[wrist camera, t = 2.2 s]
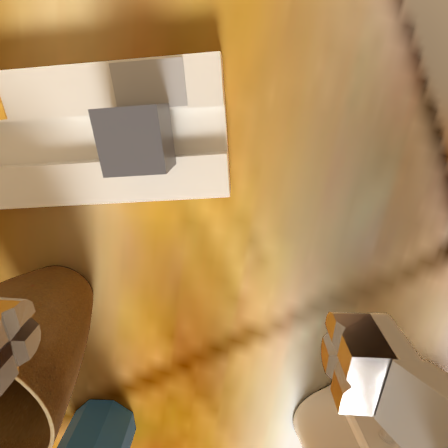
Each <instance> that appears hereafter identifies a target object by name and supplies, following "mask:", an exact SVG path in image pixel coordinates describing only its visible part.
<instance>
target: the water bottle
mask: <svg viewBox="0 0 448 448" xmlns="http://www.w3.org/2000/svg"><path fill="white" fill-rule="evenodd" d="M135 430H136V426H135V421H134V415H133V412H131V411H130V410H128V409H127V408H125V407H123V406H122V405H120V404H119V403H117V402H116V401H114V400H93V399H89V400H88V401H87V402H86V403H85V404H84V405H82V406H81V407H80V408H79V409H78V410H76V412H75V414H74V416H73V418H72V420H71V422H70V424H69V426H68V427H67V429H66V431H65V433H64V435H63V437H62V439H61V441H60V443H59V445H58V447H57V448H130V446H131V443H132V440H133V437H134V434H135Z"/></svg>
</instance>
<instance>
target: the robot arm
mask: <svg viewBox="0 0 448 448" xmlns="http://www.w3.org/2000/svg"><path fill="white" fill-rule="evenodd" d="M35 312H36V311H35V308H34V305H33V302H32V301H30V300H28V299H18V298H3V297H0V396H1V395H2V394H3V393H4V392H5V390H6V389H7V388H8V387H9V385H10V384H11V383H12V382H13V380H14V379H15V378H16V377H17V375H18V374H19V366H20V365H22V364H24V363H25V362H27V361H29V360H30V359H31V358H32V356H33V355H34V354H35V352H36V351H37V349H38V346H39V343H40V341H41V330H40V326H39V324H38V323H37V322H36V321H35V320H34V319H33V318H32V317H33V315H34V313H35ZM325 325H326V328H327V330H328V333H327V334H325V335H324V336H323V338H322V345H321V358H322V363H323V367H324V371H325V374H326V375H327V376H328V377H329V378H330V379H332V383H331V385H329V386H328V387H326V388H324V389H322V390H319V391H317V392H315V393H314V394H312V395H310V396H309V397H308V398H306V399H305V400H304V401H303V402H302V403H301V404H300V405H299V407H298V408H297V410H296V412H295V414H294V418H293V426H294V430H295V432H296V434H297V436H298V438H299V440H300V443H301V445H302V447H303V448H448V373H447V372H445V371H444V370H442V369H440V368H439V367H437V366H436V365H434V364H433V363H431V362H430V361H422V359H421V358H420V356H419V355H418V354H417V352H416V351H415V349H414V348H413V347H412V345H411V344H410V342H409V341H408V340H407V338H406V337H405V335H404V334H403V332H402V331H401V330H400V328H399V327H398V325H397V324H396V323H395V321H394V320H393V318H392V317H391V316H390V315H389V314H387V313H345V312H329V313H328V315H327V317H326V322H325Z"/></svg>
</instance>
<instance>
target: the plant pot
mask: <svg viewBox="0 0 448 448" xmlns="http://www.w3.org/2000/svg"><path fill="white" fill-rule="evenodd" d="M0 297H3V298H18V299H28V300H30V301H32V302H33V305H34V308H35V311H36V312H35V313H34V315H33V317H32V318H33V319H34V320H35V321H36V322H37V323H38V324H39V326H40V330H41V341H40V343H39V346H38V349H37V351H36V352H35V354H34V355H33V356H32V358H31V359H30V360H29V361H27V362H25V363H24V364H22V365H20V366H19V374H18V375H17V377H16V378H15V379H14V380H13V382H12V383H11V384H10V385H9V387H8V388H7V389H6V390H5V392H4V393H3V394H2V395H1V396H0V448H52V447H53V444H54V441H55V439H56V436H57V434H58V431H59V429H60V426H61V423H62V420H63V418H64V415H65V412H66V409H67V407H68V404H69V401H70V398H71V395H72V392H73V389H74V386H75V383H76V380H77V377H78V374H79V370H80V367H81V363H82V360H83V356H84V352H85V347H86V343H87V338H88V333H89V328H90V321H91V314H92V305H93V292H92V289H91V287H90V285H89V283H88V282H87V280H86V279H85V278H84V277H83V276H82V275H80V274H79V273H78V272H76V271H74V270H72V269H69V268H66V267H62V266H50V267H46V268H42V269H38V270H35V271H32V272H29V273H26V274H23V275H20V276H17V277H14V278H11V279H9V280H6V281H3V282H1V283H0Z"/></svg>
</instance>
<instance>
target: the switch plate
mask: <svg viewBox="0 0 448 448" xmlns="http://www.w3.org/2000/svg"><path fill="white" fill-rule="evenodd" d="M165 103H169V110H170V117H171V125H172V133H173V140H174V148H175V156H176V165H175V166H174V167H173V168H172V169H171V170H170V171H169V172H168V173H167V174H161V175H144V176H127V177H110V178H103V174H102V170H101V166H100V161H99V157H98V152H97V148H96V143H95V139H94V135H93V130H92V126H91V121H90V117H89V112H88V109H99V108H112V107H125V106H138V105H151V104H165ZM230 190H231V186H230V171H229V155H228V140H227V124H226V108H225V93H224V77H223V62H222V54H221V52H220V51H214V52H203V53H191V54H180V55H169V56H157V57H146V58H134V59H123V60H111V61H100V62H89V63H77V64H66V65H54V66H43V67H31V68H20V69H8V70H0V209H17V208H35V207H54V206H72V205H91V204H110V203H128V202H147V201H165V200H184V199H203V198H221V197H230Z"/></svg>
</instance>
